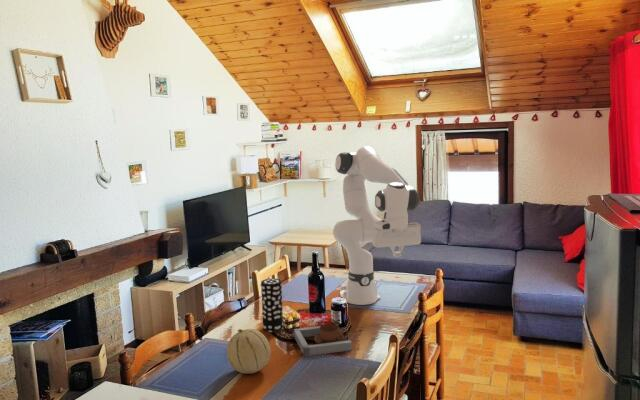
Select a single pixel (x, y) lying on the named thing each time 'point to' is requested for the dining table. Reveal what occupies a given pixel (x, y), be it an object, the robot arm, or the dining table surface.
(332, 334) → the cup and saucer
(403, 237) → the robot arm
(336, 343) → the grey u-shaped bar
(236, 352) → the cantaloupe
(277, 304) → the white-spotted black cylinder
